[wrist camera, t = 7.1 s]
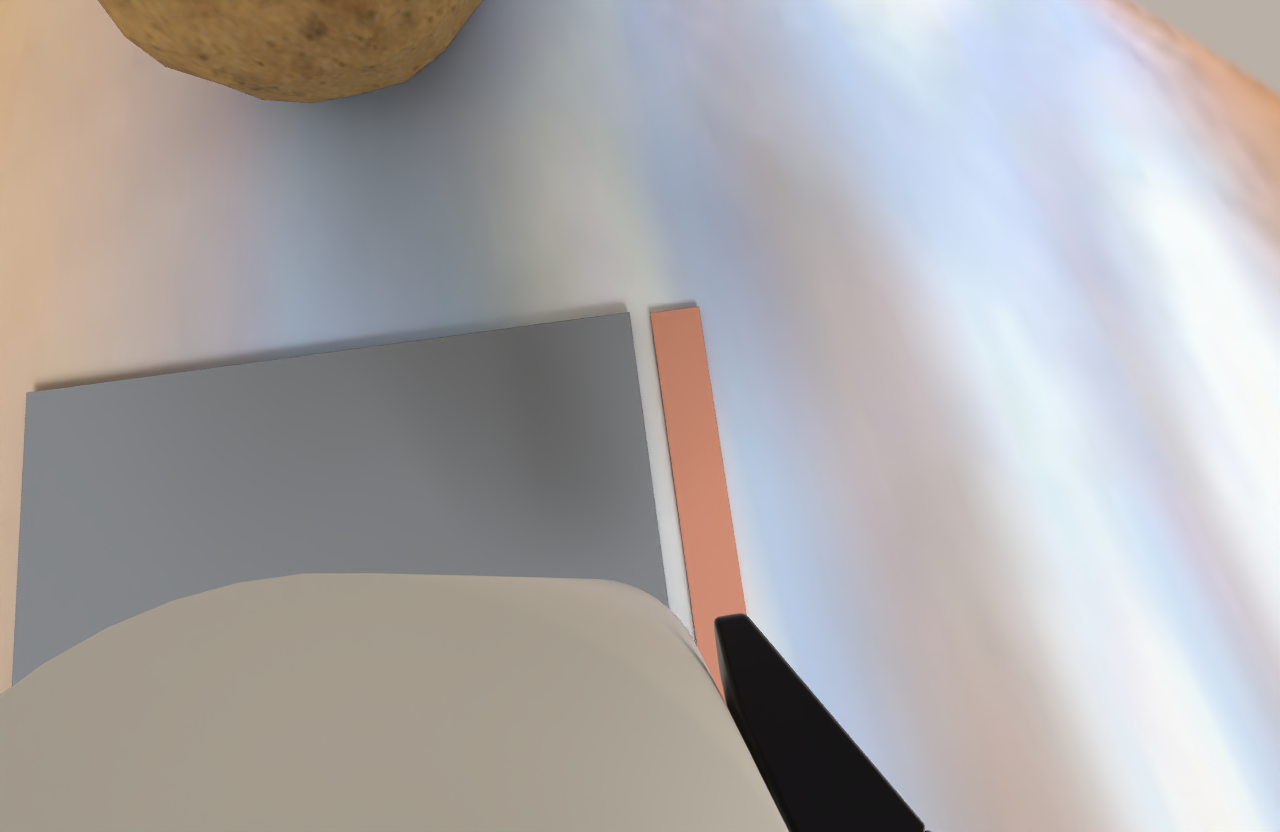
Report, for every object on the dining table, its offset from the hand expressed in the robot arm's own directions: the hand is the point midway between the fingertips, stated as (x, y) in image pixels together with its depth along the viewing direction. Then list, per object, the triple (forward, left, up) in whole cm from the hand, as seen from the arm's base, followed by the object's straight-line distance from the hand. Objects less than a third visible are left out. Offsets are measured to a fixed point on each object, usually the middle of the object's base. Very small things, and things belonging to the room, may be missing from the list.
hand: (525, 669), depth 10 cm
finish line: (-3, -2, -13) cm, 14 cm away
